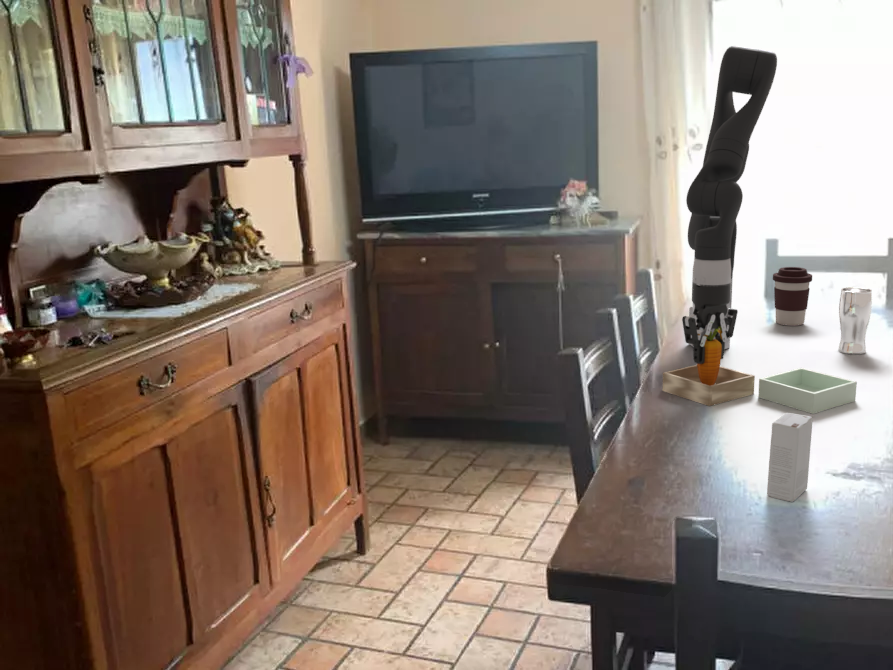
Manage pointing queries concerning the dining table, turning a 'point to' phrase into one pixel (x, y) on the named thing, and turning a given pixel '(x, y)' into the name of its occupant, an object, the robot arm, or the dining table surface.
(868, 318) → the beer glass
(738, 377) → the birch frame
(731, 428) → the dining table surface
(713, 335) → the carrot
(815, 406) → the green tray
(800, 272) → the coffee cup
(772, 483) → the skincare box
